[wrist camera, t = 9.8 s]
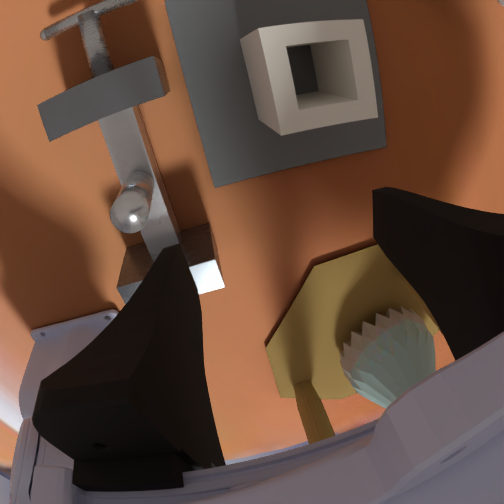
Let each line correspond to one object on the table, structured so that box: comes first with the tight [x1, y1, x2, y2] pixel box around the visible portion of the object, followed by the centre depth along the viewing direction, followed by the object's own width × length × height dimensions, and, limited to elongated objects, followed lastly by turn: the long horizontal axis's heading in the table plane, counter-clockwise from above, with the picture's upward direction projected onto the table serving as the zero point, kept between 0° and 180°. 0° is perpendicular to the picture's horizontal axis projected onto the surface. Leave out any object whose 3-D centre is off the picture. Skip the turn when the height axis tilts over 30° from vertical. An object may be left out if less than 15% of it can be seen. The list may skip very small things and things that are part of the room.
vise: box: [37, 0, 225, 304], centre depth 15 cm, size 17×6×6 cm, turn 12°
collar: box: [240, 19, 378, 136], centre depth 15 cm, size 5×5×5 cm
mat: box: [165, 0, 387, 188], centre depth 17 cm, size 12×12×1 cm
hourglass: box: [266, 244, 443, 444], centre depth 21 cm, size 24×22×25 cm
